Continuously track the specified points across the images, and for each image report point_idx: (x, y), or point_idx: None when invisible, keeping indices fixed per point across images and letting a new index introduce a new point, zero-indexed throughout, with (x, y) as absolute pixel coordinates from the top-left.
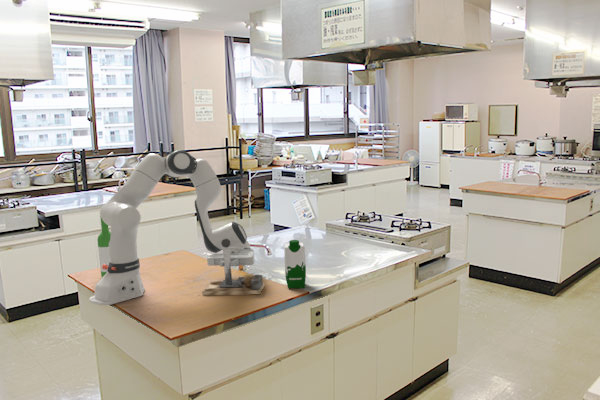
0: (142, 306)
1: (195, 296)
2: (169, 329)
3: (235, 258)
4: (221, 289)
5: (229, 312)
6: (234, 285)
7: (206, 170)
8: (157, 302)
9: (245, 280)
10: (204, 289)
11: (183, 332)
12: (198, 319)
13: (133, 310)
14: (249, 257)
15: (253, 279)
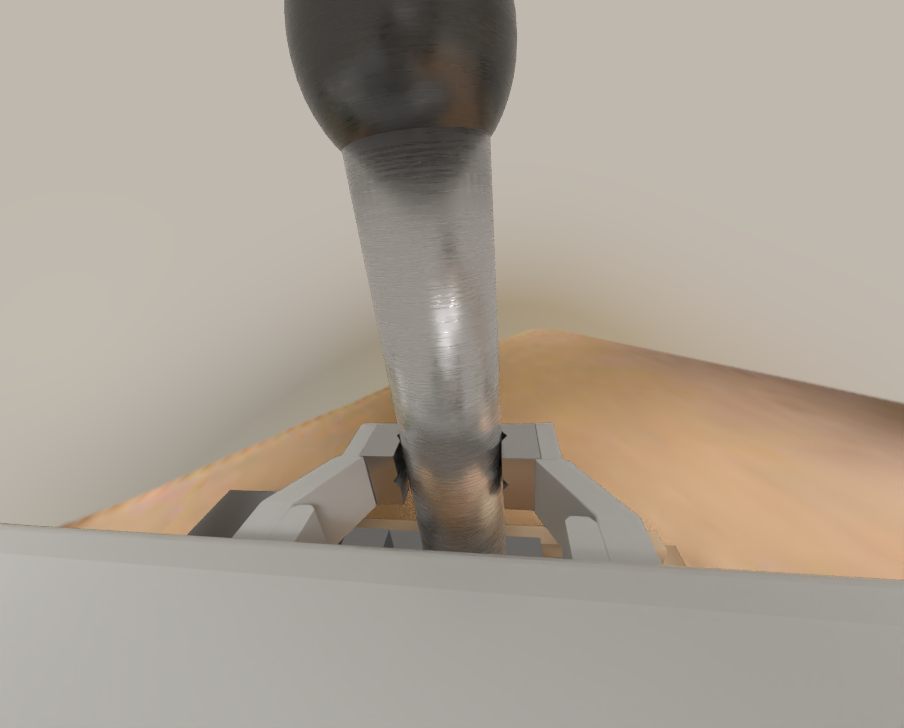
0: (872, 422)
1: (703, 539)
2: (565, 336)
3: (278, 549)
4: (513, 527)
5: None
6: (412, 532)
7: None
8: (863, 460)
9: None
10: None
11: (524, 332)
12: (517, 363)
13: (846, 394)
14: (4, 523)
15: (245, 520)
